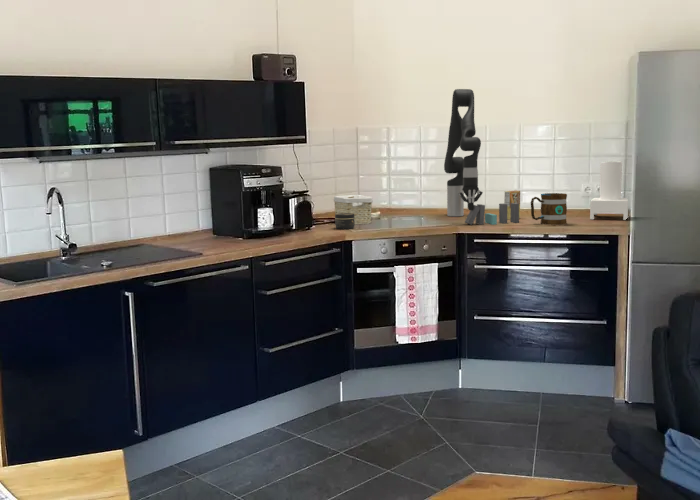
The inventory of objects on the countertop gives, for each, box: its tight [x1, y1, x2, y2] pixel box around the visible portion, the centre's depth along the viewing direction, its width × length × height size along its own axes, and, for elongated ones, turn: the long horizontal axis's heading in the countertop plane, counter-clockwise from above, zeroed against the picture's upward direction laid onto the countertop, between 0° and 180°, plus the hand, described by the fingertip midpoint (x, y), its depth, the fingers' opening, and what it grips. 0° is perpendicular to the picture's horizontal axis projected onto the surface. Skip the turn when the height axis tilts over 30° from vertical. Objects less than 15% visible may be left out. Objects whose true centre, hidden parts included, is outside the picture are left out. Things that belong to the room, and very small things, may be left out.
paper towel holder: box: [589, 160, 629, 221], centre depth 429 cm, size 19×19×30 cm
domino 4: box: [510, 203, 520, 224], centre depth 418 cm, size 2×5×10 cm, turn 12°
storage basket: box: [333, 194, 373, 225], centre depth 434 cm, size 24×16×15 cm
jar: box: [334, 213, 356, 231], centre depth 408 cm, size 10×10×8 cm
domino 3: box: [498, 203, 508, 225], centre depth 417 cm, size 2×5×10 cm, turn 12°
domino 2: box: [475, 203, 486, 225], centre depth 414 cm, size 2×5×10 cm, turn 12°
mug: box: [530, 192, 568, 226], centre depth 409 cm, size 20×14×15 cm
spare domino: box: [484, 212, 498, 226], centre depth 416 cm, size 2×5×10 cm
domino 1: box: [464, 204, 480, 226], centre depth 413 cm, size 2×5×10 cm, turn 12°
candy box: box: [503, 189, 521, 221], centre depth 435 cm, size 9×4×15 cm, turn 129°
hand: (470, 210), depth 413 cm, fingers closed
